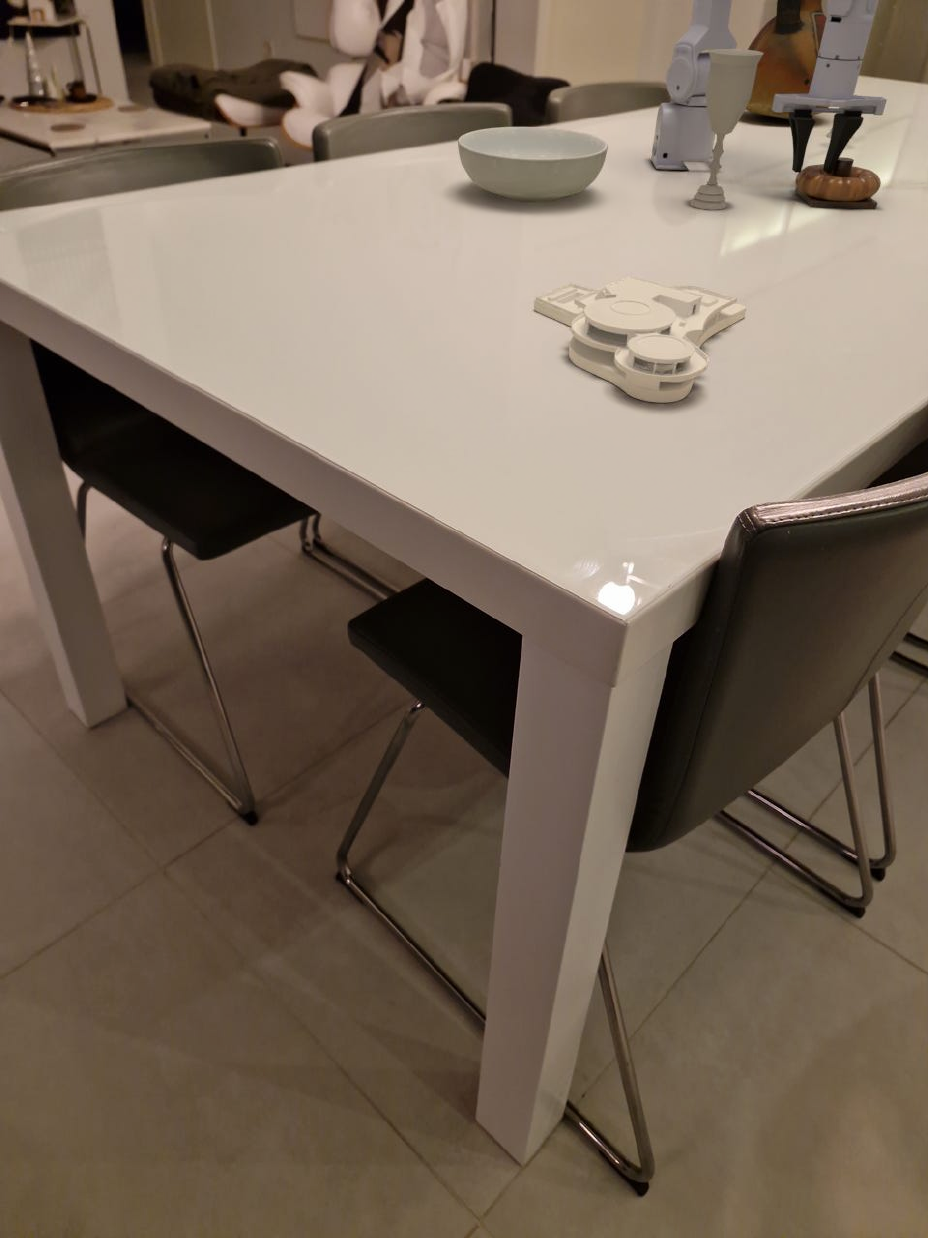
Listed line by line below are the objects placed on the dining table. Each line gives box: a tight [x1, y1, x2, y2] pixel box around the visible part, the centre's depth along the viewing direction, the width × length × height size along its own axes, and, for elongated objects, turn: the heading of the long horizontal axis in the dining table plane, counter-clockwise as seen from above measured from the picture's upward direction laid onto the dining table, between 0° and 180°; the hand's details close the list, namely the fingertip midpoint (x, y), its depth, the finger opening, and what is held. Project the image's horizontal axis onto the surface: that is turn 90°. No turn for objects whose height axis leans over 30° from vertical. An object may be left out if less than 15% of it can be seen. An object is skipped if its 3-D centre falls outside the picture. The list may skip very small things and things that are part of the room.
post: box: [794, 156, 878, 210], centre depth 122 cm, size 9×9×5 cm
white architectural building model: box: [533, 276, 748, 404], centre depth 80 cm, size 23×25×4 cm
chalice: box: [689, 48, 763, 211], centre depth 115 cm, size 7×7×18 cm
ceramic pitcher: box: [745, 0, 830, 120], centre depth 166 cm, size 20×20×30 cm
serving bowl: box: [457, 126, 609, 203], centre depth 121 cm, size 21×21×7 cm
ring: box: [794, 163, 882, 202], centre depth 123 cm, size 11×11×3 cm
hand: (811, 171), depth 122 cm, fingers open, 4 cm apart
